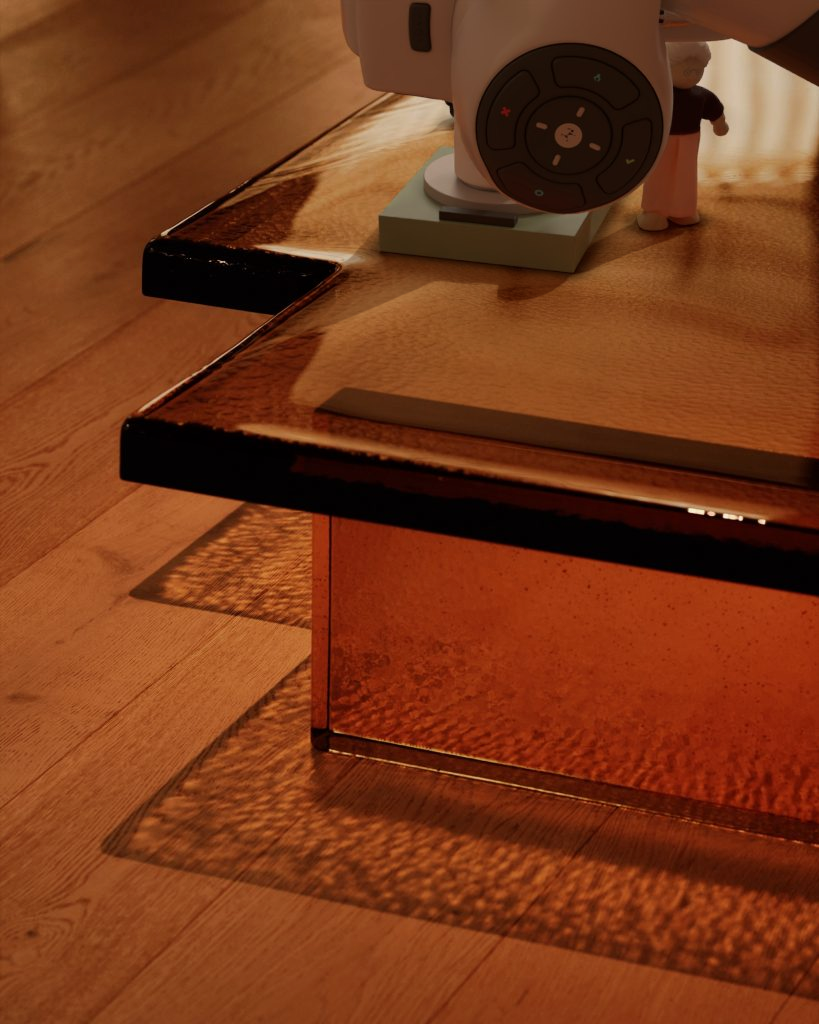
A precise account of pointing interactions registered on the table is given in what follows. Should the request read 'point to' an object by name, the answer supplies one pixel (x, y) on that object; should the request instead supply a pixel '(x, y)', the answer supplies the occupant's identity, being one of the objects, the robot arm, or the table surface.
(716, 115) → the grandmother figurine
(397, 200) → the scale
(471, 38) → the robot arm
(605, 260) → the table surface
